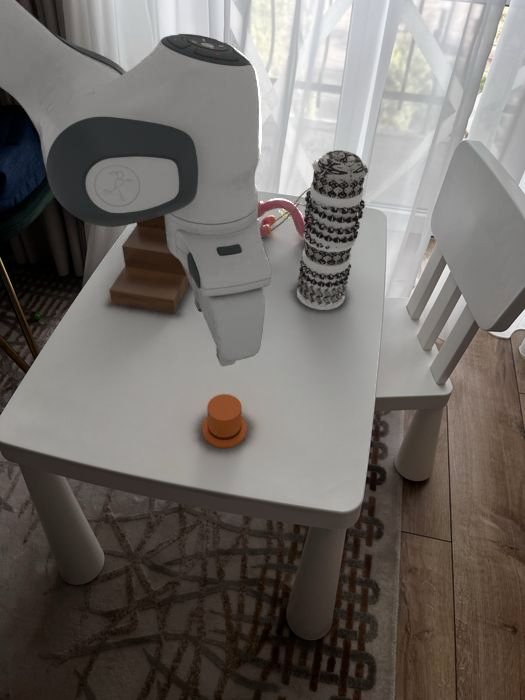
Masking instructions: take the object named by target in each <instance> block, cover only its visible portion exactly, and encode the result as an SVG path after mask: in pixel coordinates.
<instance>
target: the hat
mask: <svg viewBox="0 0 525 700" xmlns="http://www.w3.org/2000/svg"><path fill="white" fill-rule="evenodd" d="M242 407H243V406H242V403H241V401H240V399H239V398H238V397H236V396H235V395H232V394H227V393H221V394H217V395H215V396H213V397H212V398H211V399H210V400H209V401H208V403H207V407H206V410H207V411H206V412H207V416H206V417H205V419H204V420H203V422H202V425H201V433H202V437H203V438H204V439H205V441H206V442H207V443H208V444H209V445H211V446H213V447H216V448H219V449H229V448H233V447H236V446H238V445H239V444H241V443H242V442H243V441H244V439H245V438H246V436H247V433H248V425H247V421H246V419H245V418H244V416H243V415H242V411H243V409H242Z"/></svg>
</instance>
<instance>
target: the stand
mask: <svg viewBox="0 0 525 700" xmlns="http://www.w3.org/2000/svg"><path fill="white" fill-rule="evenodd" d="M121 249H122V255H123V261H124V267H123V268H122V269H121V271H120V273H119V274H118V276H117V277H116V279H115V280H114V282H113V283H112V284H111V286H110V287H109V289H108V290H109V296H110V303H111V304H112V305H117V306H123V307H128V308H129V307H130V308H134V309H141V310H148V311H153V312H158V313H159V312H160V313H164V314H172V315H176V313H177V310H178V308H179V306H180V304H181V302H182V300H183V298H184V296H185V295H186V291H187V290H188V288H189V286H190V285H191V284H190V282H189V280H188V277H187V275H186V272H185V270H184V268H183V265H182V263H181V262H180V260H179V259H178V258H176V257H175V256H174V255H173V254H172V253H171V252H170V250H169V248H168V246H167V238H166V227H165V216H164V215H163V216H160V217H156V218H152V219H149V220H145V221H141V222H137V223H136V225H135V226H134V228H133V229H132V231H131V233H130V234H129V235H128V237H126V239H125V241H124V243H123V244H122V245H121Z"/></svg>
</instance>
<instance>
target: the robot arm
mask: <svg viewBox="0 0 525 700" xmlns="http://www.w3.org/2000/svg"><path fill="white" fill-rule="evenodd" d="M0 88H1V89H2V90H4V91H5V92H7V93H8V94H9V95H10V96H12V97H13V98H14V99H15V100H16V101H17V103H19V105H20V106H21V107H22V109H24V111H25V112H26V114H27V115H28V117H29V119H30V120H31V122H32V124H33V126H34V128H35V130H36V132H37V133H38V136H39V142H40V149H41V154H42V159H43V164H44V168H45V172H46V178H47V181H48V182H47V183H48V186H49V188H50V190H51V193H52V195H53V196H54V198H55V199H56V201H57V202H58V204H59V205H61V207H62V208H64V209H65V210H66V212H68V213H69V214H70V215H72V216H74V217H75V218H77V219H79V220H80V221H82V222H84V223H85V222H86V223H88V224H91V225H94V226H99V227H104V228H105V227H106V228H117V227H125V226H128V225H133V224H137V222H141V221H145V220H149V219H152V218H156V217H160V216H163V215H164V216H165V227H166V238H167V246H168V248H169V250H170V252H171V253H172V254H173V255H174V256H175V257H176V258H178V259H179V260H180V262H181V263H182V265H183V268H184V270H185V272H186V275H187V277H188V280H189V282H190V284H189V285H190V286H191V289H192V291H193V297H194V304H195V307H196V309H197V311H198V312H200V313H202V315H203V317H204V320H205V322H206V325H207V327H208V331H209V332H210V334H211V336H212V339H213V342H214V344H215V347H216V350H215V351H216V358H217V360H218V363H219V366H220V367H226V366H227V367H228V366H231V365H234V364H235V363H236V362H237V361H242V360H247V359H250V358H253V357H254V356H255V355H257V354H259V352H260V349H261V347H262V346H261V345H262V341H263V332H264V324H265V323H264V322H265V312H266V311H265V310H266V300H265V291H264V287H268V286H270V285H271V282H272V267H271V264H270V261H269V258H268V255H267V251H266V249H265V246H264V243H263V240H262V237H261V234H260V227H261V225H260V224H261V222H260V220H259V219H258V218H259V217H258V203H259V192H258V188H257V185H256V173H257V170H258V167H259V164H260V160H261V154H262V153H261V151H262V148H261V147H262V111H261V110H262V109H261V108H262V107H261V94H260V93H261V92H260V85H259V78H258V74H257V70H256V68H255V66H254V65H253V64H252V63H251V60H249V58H248V57H247V56H246V55H244V54H243V52H241V51H240V50H239V49H237V48H236V47H234V46H232V45H231V44H229V43H228V42H224V41H220V40H218V39H216V38H213V37H209V36H205V35H200V34H194V33H178V34H171V35H166V36H164V37H162V38H161V39H160V40H159V42H158V43H157V45H156V46H155V47H154V49H153V50H152V51H151V52H150V53H149V54H148V55H147V56H145V57H144V58H143V59H142V60H140V61H139V62H138V63H137V64H136V65H134V66H133V67H132V68H131V69H129V70H127V71H126V70H125V69H124V68H123V67H122V66H120V64H118V63H116V62H115V61H114V60H112V59H110V58H109V57H106V56H104V55H102V54H101V53H97V52H95V51H92V50H90V49H88V48H85V47H82V46H79V45H77V44H75V43H72V42H70V41H68V40H66V39H65V38H63V37H62V36H59V35H58V34H56V33H55V32H53V31H52V30H51V29H49V27H47V25H45V24H44V23H43V22H42V21H40V20H39V19H38V18H37V17H36V16H35V15H34V14H33V13H32V12H30V10H28V9H27V8H26V6H24V5H23V4H21V3H20V2H19V1H18V0H0Z"/></svg>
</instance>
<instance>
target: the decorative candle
mask: <svg viewBox="0 0 525 700" xmlns="http://www.w3.org/2000/svg"><path fill="white" fill-rule="evenodd" d="M312 169H313V177H312V182H311V183H310V187H311V188H310V187H309V188H310V189H309V190H308V191H307V192H305V197H304V201H305V202H306V204H305V205H306V206H304V207H305V209H304V216H303V217H304V222H305V225H304V228H305V229H304V230H303V232H304V238H303V240H304V242H305V241H306V243H304V245H305V246H304V248H303V250H302V255H301V259H300V260H299V264H300V267H299V269H298V270H299V274H298V275H297V280H298V281H297V283H296V284H297V285H296V286H297V290H296V294H297V298H298V300H299V301H300V302H301V303H302V304H303V305H305V306H306V307H308V308H309V309H310V308H311V309H314V310H319V311H330V310H334V309H336V308H338V307H340V306H341V305H342V304H343V303H344V301H345V299H346V297H345V296H346V292H347V290H348V289H347V287H348V286H347V285H348V284H349V281H348V280H349V276H350V275H351V274H350V270H351V268H352V264H351V259H352V258H351V257H352V254H351V251H352V247H354V246H355V243H356V242H357V238H358V235H359V231H358V230H359V229H360V220H361V219H362V218H363V214H364V211H363V210H364V209H365V207H366V205H365V204H366V203H365V200H364V199H363V195H364V183H365V176H367V174H368V173H369V169H368V167H367V164H365V163H363V160H362V158H361V157H360V156H359V155H358V154H355V153H354V152H351V151H347V150H341V149H335V150H329V151H327V152H325V153H323V154H322V155H321V156H320V157H319V158H316V159H315V160H314V161H313V163H312Z"/></svg>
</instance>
